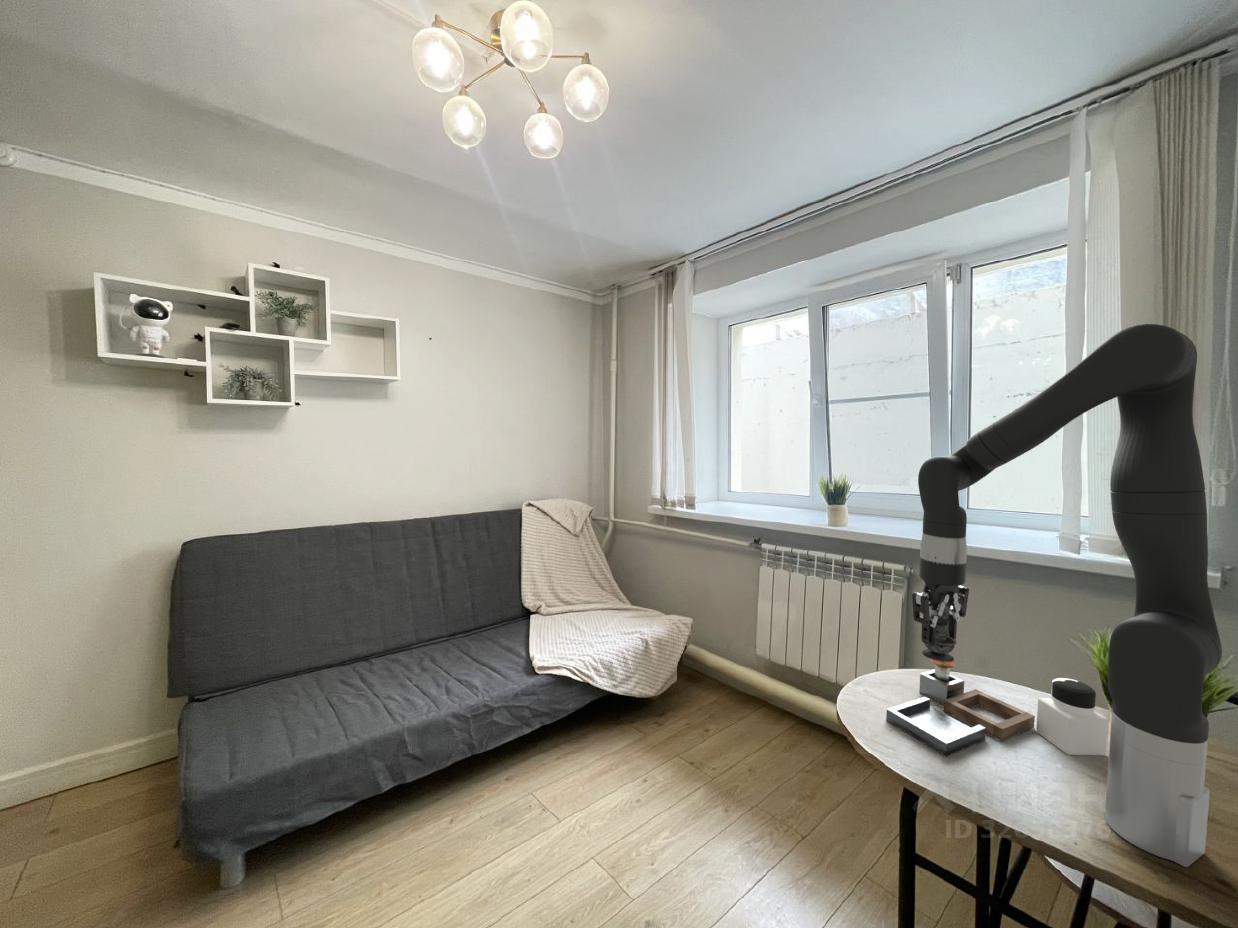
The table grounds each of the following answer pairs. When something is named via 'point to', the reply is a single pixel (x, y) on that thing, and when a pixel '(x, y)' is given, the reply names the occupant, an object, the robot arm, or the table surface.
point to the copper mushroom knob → (943, 670)
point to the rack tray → (934, 727)
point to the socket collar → (1002, 731)
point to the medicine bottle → (1072, 719)
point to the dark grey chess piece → (941, 640)
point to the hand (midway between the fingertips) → (938, 640)
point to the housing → (940, 686)
